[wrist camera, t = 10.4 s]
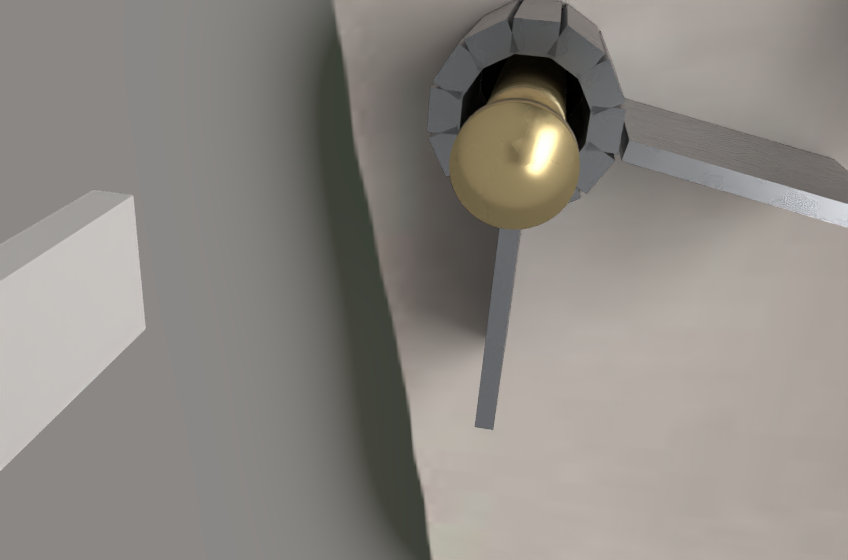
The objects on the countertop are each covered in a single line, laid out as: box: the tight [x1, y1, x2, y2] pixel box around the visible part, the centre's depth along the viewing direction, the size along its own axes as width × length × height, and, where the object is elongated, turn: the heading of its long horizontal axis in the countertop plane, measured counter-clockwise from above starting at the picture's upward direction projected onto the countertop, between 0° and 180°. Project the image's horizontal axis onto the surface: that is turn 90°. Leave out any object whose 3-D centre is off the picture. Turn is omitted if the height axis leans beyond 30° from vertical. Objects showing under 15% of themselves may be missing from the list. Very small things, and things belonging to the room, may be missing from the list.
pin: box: [449, 54, 580, 230], centre depth 29 cm, size 4×4×14 cm
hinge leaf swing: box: [619, 98, 848, 228], centre depth 32 cm, size 10×1×8 cm, turn 76°
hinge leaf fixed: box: [427, 0, 626, 430], centre depth 34 cm, size 17×7×8 cm, turn 176°
